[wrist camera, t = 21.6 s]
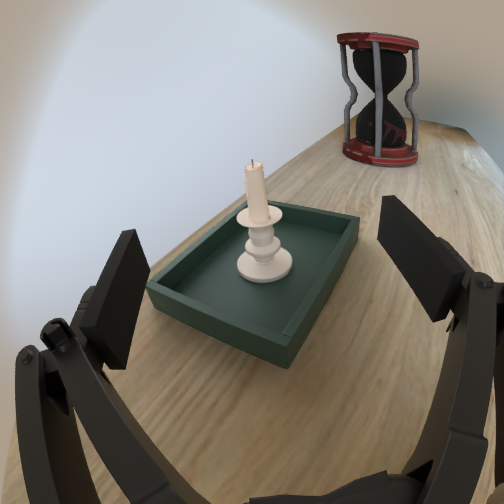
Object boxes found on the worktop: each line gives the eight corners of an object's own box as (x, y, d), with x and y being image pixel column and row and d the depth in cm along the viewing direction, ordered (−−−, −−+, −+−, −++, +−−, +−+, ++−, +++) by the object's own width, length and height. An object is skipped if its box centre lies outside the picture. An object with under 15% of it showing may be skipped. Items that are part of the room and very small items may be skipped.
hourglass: (349, 141, 63) (344, 39, 49) (415, 150, 56) (416, 44, 42) (335, 161, 52) (327, 31, 38) (418, 173, 45) (421, 36, 31)
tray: (287, 369, 19) (286, 346, 18) (154, 307, 26) (143, 285, 24) (358, 239, 31) (360, 217, 29) (252, 217, 38) (250, 197, 36)
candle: (236, 285, 26) (215, 174, 20) (238, 251, 30) (222, 153, 24) (295, 280, 26) (290, 166, 20) (289, 246, 30) (283, 146, 24)
